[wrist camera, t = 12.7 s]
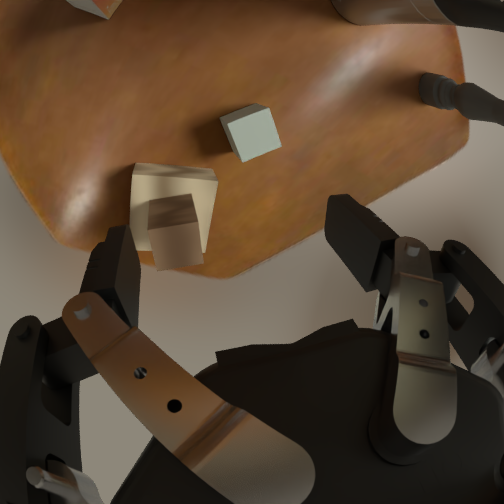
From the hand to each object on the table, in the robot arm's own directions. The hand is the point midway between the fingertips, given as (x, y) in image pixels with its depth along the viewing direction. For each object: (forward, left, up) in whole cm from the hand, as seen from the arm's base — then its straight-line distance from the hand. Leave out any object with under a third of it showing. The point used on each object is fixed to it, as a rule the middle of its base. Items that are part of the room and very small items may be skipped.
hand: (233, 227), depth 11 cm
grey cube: (-7, +1, -27) cm, 28 cm away
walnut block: (+3, +10, -22) cm, 24 cm away
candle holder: (-40, -8, -27) cm, 49 cm away
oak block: (+3, +10, -27) cm, 29 cm away
